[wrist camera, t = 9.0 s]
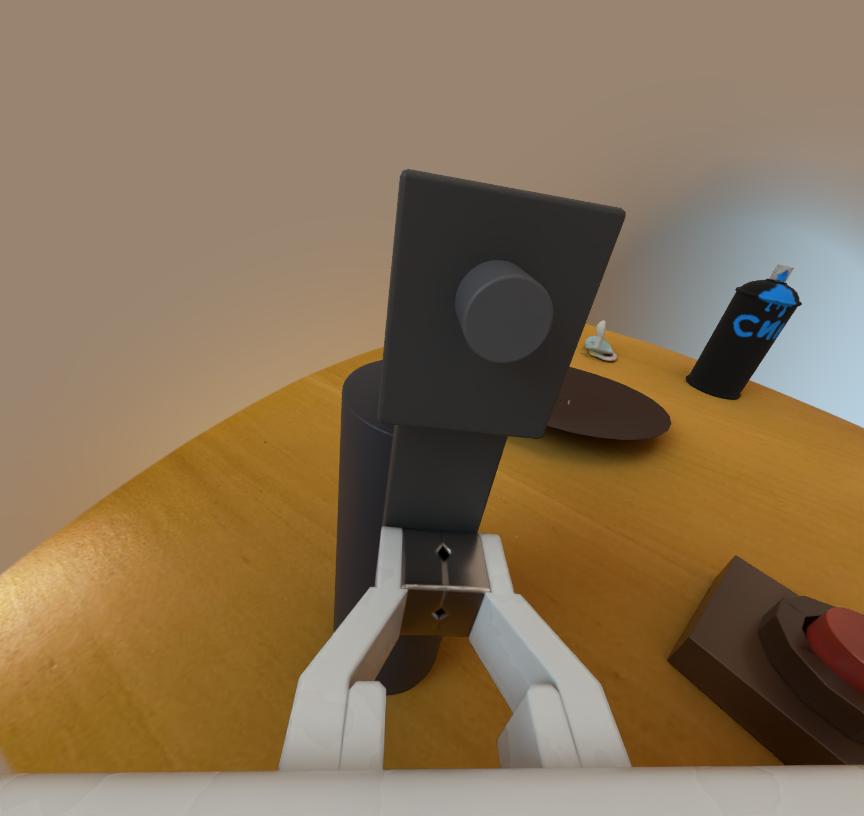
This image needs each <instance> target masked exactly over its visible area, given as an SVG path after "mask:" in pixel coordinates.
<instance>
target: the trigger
mask: <svg viewBox="0 0 864 816" xmlns="http://www.w3.org/2000/svg"><path fill="white" fill-rule="evenodd" d="M507 437H508V436H504V435H493V434H483V433H473V432H463V431H452V430H442V429H432V428H422V427H411V426H401V425H394V431H393V440H392V448H391V456H390V464H389V472H388V480H387V488H386V496H385V504H384V513H383V521H382V526H386V527H398V528H411V529H421V530H432V531H457V532H475V533H477V532H478V529H479V525H480V522H481V519H482V516H483V513H484V510H485V506H486V503H487V500H488V497H489V494H490V491H491V487H492V484H493V481H494V478H495V475H496V472H497V468H498V465H499V462H500V459H501V456H502V453H503V449H504V446H505V443H506V440H507Z"/></svg>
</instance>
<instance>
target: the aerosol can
mask: <svg viewBox="0 0 864 816" xmlns="http://www.w3.org/2000/svg"><path fill="white" fill-rule="evenodd" d="M792 270H793V268H792V267H788V266H783V265H777V266H776V268H775V270H774V271H773V273H772V275H771V276H770V279H766V280H758V281H752V282H749V283H746V284H744V285H743V286H741V287H737V288H736V291H737V292H736V293H735V295H734V297H733V299H732V300H731V302H730V304H729V306H728V307H727V309H726V311H725V313H724V315H723V316H722V318H721V320H720V322H719V324H718V325H717V327H716V329H715V331H714V332H713V334H712V336H711V338H710V340H709V342H708V343H707V345H706V347H705V348H704V350H703V352H702V354H701V356H700V357H699V359H698V361H697V362H696V364H695V366H694V368H693V370H692V371H691V373H690V375H688V376H687V377H686V381H687V382H688V383H689V384H690V385H692V386H693V387H695V388H697V389H699V390H701V391H703V392H705V393H708V394H710V395H713V396H716V397H720V398H725V399H738V398H740V396H741V394H740V393H741V391H742V390H743V388H744V387H745V385H746V384H747V382H748V381H749V379H750V378H751V376H752V375H753V373H754V372H755V370H756V369H757V367H758V366H759V364H760V363H761V361H762V360H763V358H764V356H765V355H766V354H767V352H768V351H769V349H770V348H771V346H772V345H773V343H774V341H775V340H776V338H777V337H778V335H779V334H780V332H781V331H782V329H783V328H784V326H785V325H786V323H787V322H788V320H789V319H790V317H791V316H792V314H793V313H794V311H795V310H796V308H797V307H798V306H800V305H802V303H801V302H800V301H799V296H798V294H797V292H796V291H795V290H794V289H793V288H791V287H789V286H788V285H787V283H784V282H785V281H786V280H787V278H788V277H789V275H790V274H791V272H792ZM772 279H773V280H772ZM781 281H783V282H781Z"/></svg>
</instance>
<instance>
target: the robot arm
mask: <svg viewBox="0 0 864 816" xmlns="http://www.w3.org/2000/svg"><path fill="white" fill-rule="evenodd" d="M399 635H439V636H455V637H469V638H468V640H469V641H470V643H471V645H472V646H473V648H474V650H475V651H476V653H477V655H478V656H479V658H480V660H481V661H482V663H483V664H484V666H485V668H486V669H487V671H488V673H489V674H490V676H491V678H492V679H493V681H494V683H495V684H496V686H497V688H498V689H499V691H500V693H501V694H502V696H503V697H504V699H505V701H506V702H507V704H508V706H509V707H510V709H511V711H512V712H513V715H512V716H511V718H510V720H509V721H508V723H507V725H506V726H505V728H504V730H503V731H502V733H501V735H500V736H499V738H498V740H497V747H498V754H499V761H500V768H490V769H392V770H383V757H384V732H385V707H386V688H385V687H384V686H383V685H382V684H381V683H380V682H379V681H374V680H375V678H376V677H377V675H378V673H379V671H380V670H381V668H382V666H383V664H384V663H385V661H386V659H387V657H388V656H389V654H390V652H391V650H392V649H393V647H394V645H395V643H396V642H397V640H398V638H399ZM0 816H864V765H787V766H688V767H632V765H631V763H630V760H629V757H628V755H627V752H626V749H625V747H624V744H623V741H622V739H621V736H620V733H619V731H618V728H617V725H616V723H615V720H614V717H613V715H612V712H611V709H610V707H609V704H608V701H607V699H606V696H605V693H604V691H603V688H602V685H601V683H600V682H599V681H598V680H597V679H596V678H595V677H594V676H593V674H592V673H591V672H590V671H589V670H588V669H587V668H586V667H585V666H584V664H583V663H582V662H581V661H580V660H579V659H578V658H577V657H576V656H575V654H574V653H573V652H572V651H571V650H570V649H569V648H568V647H567V645H566V644H565V643H564V642H563V641H562V640H561V639H560V638H559V637H558V635H557V634H556V633H555V632H554V631H553V630H552V629H551V628H550V627H549V625H548V624H547V623H546V622H545V621H544V620H543V619H542V618H541V616H540V615H539V614H538V613H537V612H536V611H535V610H534V609H533V608H532V606H531V605H530V604H529V603H528V602H527V601H526V600H525V599H524V598H523V596H522V595H521V594H515V593H514V589H513V585H512V581H511V577H510V574H509V570H508V566H507V562H506V558H505V554H504V550H503V546H502V542H501V538H500V537H499V535H498V534H486V533H475V532H457V531H432V530H421V529H411V528H398V527H386V526H382V529H381V537H380V545H379V553H378V561H377V569H376V579H375V587H370V588H369V589H368V590H367V592H366V593H365V594H364V596H363V597H362V598H361V599H360V601H359V602H358V603H357V605H356V606H355V607H354V608H353V610H352V611H351V612H350V613H349V615H348V616H347V617H346V619H345V620H344V621H343V622H342V624H341V625H340V626H339V627H338V629H337V630H336V631H335V633H334V634H333V635H332V636H331V638H330V639H329V640H328V641H327V643H326V644H325V645H324V647H323V648H322V649H321V650H320V652H319V653H318V654H317V655H316V657H315V658H314V659H313V661H312V662H311V663H310V664H309V666H308V667H307V668H306V669H305V671H304V672H303V673H302V675H301V676H300V677H299V681H298V685H297V690H296V694H295V699H294V703H293V707H292V712H291V716H290V720H289V725H288V729H287V733H286V738H285V742H284V746H283V751H282V755H281V759H280V764H279V768H278V771H195V772H97V773H2V774H0Z"/></svg>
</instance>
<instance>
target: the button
mask: <svg viewBox="0 0 864 816" xmlns="http://www.w3.org/2000/svg"><path fill="white" fill-rule="evenodd" d="M806 637H807V639H808V641H809V643H810V645H811V647H812V649H813V651H814V652H815V653H816V654H817V655H818V656H819V657H820V658H821V659H822V660H823V661H824V663H825V664H826V665H827V666H828V667H829V668H830V669H831V670H832V671H833V672H834V673H835V674H836V675H837V676H838V677H839V678H841V679H842V680H843V681H845V682H846V683H848V684H849V685H851V686H852V687H853V688H855V689H856V690H858V691H859V692H860V693H862V694H863V695H864V615H862V614H860V613H857V612H855V611H852V610H849V609H845V608H831V609H829V610H827V611H826V612H825V613H824V614H822V615H821V616H820V617H819V618H818V619H816V620H815V621H814V622H813V623H812V624H810V625H809V626H808V628H807V630H806Z"/></svg>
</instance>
